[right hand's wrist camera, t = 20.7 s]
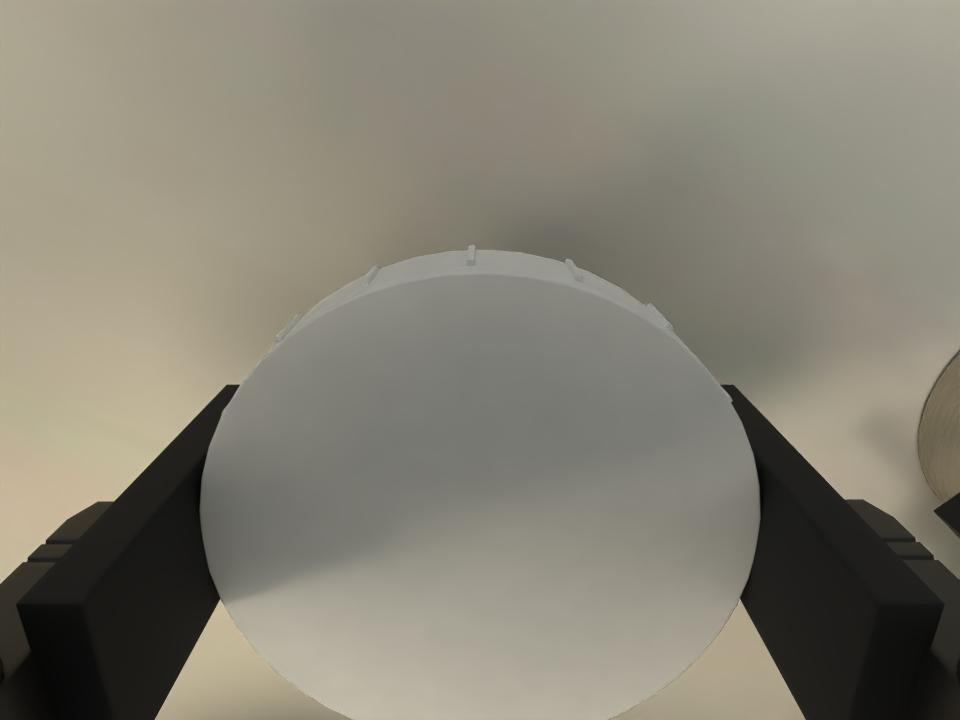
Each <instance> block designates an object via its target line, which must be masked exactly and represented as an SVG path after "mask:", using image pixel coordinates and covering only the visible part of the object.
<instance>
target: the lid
mask: <svg viewBox="0 0 960 720" xmlns="http://www.w3.org/2000/svg"><path fill="white" fill-rule="evenodd" d="M673 328H674V327H673V326H672V325H671V324H670V323H669V322H668V321H667V320H666V319H665V318H664V316H663V315H662V314H661V313H660V312H659V311H658V310H657V309H656V308H655V307H654V306H653V305H652V304H651V303H649V304H648V305H647V306H645V305H644V304H642V303H641V302H640V301H638V300H637V299H635V298H634V297H633V296H631V295H630V294H628V293H627V292H626V291H624V290H623V289H621V288H620V287H618V286H616V285H614V284H612V283H610V282H608V281H606V280H604V279H602V278H600V277H599V276H597V275H595V274H593V273H591V272H589V271H586V270H583V269H580V268H577V267H576V265H575V264H574V262H573V261H572V260H570V259H566V261H565V263H563V262H561V261H558V260H555V259H550V258H545V257H541V256H536V255H531V254H526V253H522V252H511V251H499V250H486V249H481V250H475V245H469V246H468V250H461V251H446V252H440V253H435V254H430V255H424V256H419V257H413V258H410V259H407V260H403V261H400V262H397V263H394V264H391V265H388V266H385V267H382V268H380V266H379V264H377V265H374V266H373V267H372V268H371V269H370V271H369V272H368V273H367V274H366V275H364V276H362V277H360V278H358V279H356V280H354V281H352V282H350V283H347V284H346V285H344V286H343V287H341V288H340V289H338V290H337V291H335V292H334V293H332V294H331V295H329V296H328V297H326V298H325V299H323V300H322V301H320V302H319V303H317V304H316V305H315V306H314V307H313V308H312V309H311V310H310V311H308V312H307V313H306V314H305V315H304V316H302V315H301V314H300V313H298V314H297V315H296V316H295V317H294V318H293V319H292V320H291V321H290V322H289V323H288V324H287V325H286V327H285V328H284V329H283V330H282V331H281V332H280V333H279V334H278V335H277V336H276V337H275V338H274V339H275V340H276V341H277V343H276V344H275V345H274V346H273V347H272V349H271V350H270V351H269V352H268V353H267V354H266V355H265V356H264V357H263V358H262V360H261V361H260V362H259V363H258V364H257V366H256V367H255V368H254V369H253V370H252V372H251V373H250V374H249V375H248V376H247V378H246V379H245V380H244V381H243V382H242V384H241V385H240V386H239V388H238V389H237V391H236V393H235V394H234V396H233V398H232V399H231V401H230V403H229V404H228V405H227V406H226V407H225V409H224V410H223V412H222V414H221V415H222V416H221V418H220V421H219V423H218V426H217V428H216V431H215V433H214V436H213V438H212V441H211V443H210V446H209V449H208V453H207V458H206V462H205V466H204V471H203V475H202V481H201V496H200V522H201V530H202V536H203V543H204V548H205V553H206V558H207V563H208V567H209V572H210V574H211V577H212V579H213V581H214V584H215V586H216V589H217V591H218V594H219V596H220V599H221V601H222V602H223V604H224V606H225V608H226V609H227V611H228V613H229V614H230V616H231V618H232V620H233V621H234V623H235V625H236V626H237V628H238V629H239V630H240V632H241V633H242V634H243V636H244V637H245V638H246V639H247V641H248V642H249V643H250V645H251V646H252V647H253V648H254V650H255V651H256V652H257V653H258V654H259V655H260V656H261V657H262V658H263V659H264V660H265V661H266V662H267V663H268V664H269V665H270V666H271V667H272V668H273V669H274V670H275V671H276V672H277V673H278V674H280V675H281V676H282V677H284V678H285V679H286V680H287V681H289V682H290V683H291V684H292V685H294V686H295V687H296V688H297V689H299V690H300V691H301V692H303V693H305V694H306V695H308V696H309V697H311V698H313V699H314V700H316V701H317V702H319V703H321V704H322V705H324V706H325V707H327V708H329V709H331V710H333V711H335V712H337V713H340V714H342V715H344V716H346V717H348V718H350V719H352V720H608V719H610V718H612V717H615V716H617V715H619V714H621V713H623V712H626V711H628V710H629V709H631V708H633V707H635V706H636V705H638V704H640V703H641V702H643V701H645V700H646V699H648V698H650V697H652V696H653V695H655V694H656V693H657V692H659V691H660V690H661V689H663V688H664V687H665V686H667V685H668V684H669V683H671V682H672V681H673V680H675V679H676V678H677V677H679V676H680V675H681V674H682V673H683V672H684V671H685V670H686V669H687V668H688V667H689V666H690V665H691V664H692V663H693V662H694V661H696V660H697V659H698V658H699V657H700V656H701V655H702V653H703V652H704V651H705V650H706V649H707V647H708V646H709V645H710V644H711V642H712V641H713V640H714V639H715V638H716V636H717V635H718V634H719V633H720V631H721V630H722V628H723V627H724V625H725V623H726V622H727V620H728V619H729V617H730V615H731V614H732V612H733V611H734V609H735V607H736V606H737V603H738V601H739V599H740V597H741V594H742V592H743V590H744V588H745V585H746V583H747V581H748V579H749V575H750V572H751V568H752V564H753V561H754V556H755V551H756V545H757V540H758V534H759V527H760V519H761V513H760V485H759V480H758V475H757V470H756V465H755V460H754V454H753V451H752V449H751V446H750V443H749V440H748V438H747V435H746V432H745V430H744V427H743V424H742V422H741V420H740V418H739V416H738V415H737V413H736V411H735V409H734V407H733V406H732V404H731V402H732V399H731V397H730V395H729V394H728V393H727V392H726V391H725V390H724V389H723V388H722V387H721V386H720V385H719V383H718V382H717V381H716V380H715V379H714V377H713V376H712V375H711V374H710V372H709V371H708V370H707V368H706V367H705V366H704V365H703V363H702V362H701V361H700V360H699V359H698V358H697V357H696V356H695V355H694V354H693V353H692V351H691V350H690V349H689V348H688V347H687V346H686V345H685V344H684V343H683V342H682V341H681V340H680V338H679V337H678V336H677V335H676V334H675V333H674V332H673V331H672V329H673Z"/></svg>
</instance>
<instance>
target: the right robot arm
mask: <svg viewBox="0 0 960 720" xmlns="http://www.w3.org/2000/svg"><path fill="white" fill-rule="evenodd" d="M239 386H240V385H226V386H225V387H224V388H223V389H222V390H221V391H220V392H219V393H218V394H217V396H216V397H215V398H214V399H213V400H212V401H211V402H210V403H209V404H208V405H207V406H206V407H205V408H204V409H203V410H202V411H201V412H200V413H199V414H198V415H197V416H196V417H195V418H194V419H193V420H192V421H191V423H190V424H189V425H188V426H187V427H186V428H185V429H184V430H183V431H182V432H181V433H180V434H179V435H178V436H177V437H176V438H175V439H174V440H173V441H172V442H171V443H170V444H169V445H168V446H167V447H166V448H165V450H164V451H163V452H162V453H161V454H160V455H159V456H158V457H157V458H156V459H155V460H154V461H153V462H152V463H151V464H150V465H149V466H148V467H147V468H146V469H145V470H144V471H143V472H142V473H141V474H140V475H139V477H138V478H137V479H136V480H135V481H134V482H133V483H132V484H131V485H130V486H129V487H128V488H127V489H126V490H125V491H124V492H123V493H122V494H121V495H120V496H119V497H118V498H117V499H116V500H115V501H114V502H97V503H95V504H93V505H91V506H90V507H88V508H86V509H85V510H83V511H81V512H79V513H78V514H76V515H74V516H73V517H71V518H69V519H67V520H66V521H65V522H64V523H63V524H62V525H61V526H60V527H59V528H58V529H57V530H56V531H55V532H54V533H53V534H52V535H51V536H50V537H49V538H48V539H47V540H46V544H41V545H40V546H39V547H38V548H37V549H36V550H35V551H34V552H33V553H32V554H31V555H30V556H29V557H28V561H27V562H23V563H22V564H21V565H20V566H19V567H18V568H17V569H16V570H14V571H13V572H12V573H11V574H10V575H9V576H8V577H7V578H6V579H5V580H4V581H3V582H2V583H1V584H0V720H155V718H156V716H157V714H158V712H159V710H160V709H161V707H162V705H163V703H164V701H165V699H166V698H167V696H168V694H169V692H170V690H171V688H172V686H173V685H174V683H175V681H176V679H177V677H178V675H179V674H180V672H181V670H182V668H183V666H184V664H185V663H186V661H187V659H188V657H189V655H190V653H191V652H192V650H193V648H194V646H195V644H196V642H197V641H198V639H199V637H200V635H201V633H202V631H203V630H204V628H205V626H206V624H207V622H208V620H209V619H210V617H211V615H212V613H213V611H214V609H215V608H216V606H217V604H218V602H219V600H220V596H219V594H218V591H217V589H216V586H215V584H214V581H213V579H212V577H211V574H210V572H209V567H208V563H207V558H206V553H205V548H204V543H203V536H202V530H201V522H200V496H201V481H202V475H203V471H204V466H205V462H206V458H207V453H208V449H209V446H210V443H211V441H212V438H213V436H214V433H215V431H216V428H217V426H218V423H219V421H220V418H221V416H222V415H221V414H222V412H223V410H224V409H225V407H226V406H227V405H228V404H229V403H230V401H231V399H232V398H233V396H234V394H235V393H236V391H237V389H238V388H239ZM720 386H721V387H722V388H723V389H724V390H725V391H726V392H727V393H728V394H729V395H730V397H731V399H732V402H731V404H732V406H733V407H734V409H735V411H736V413H737V415H738V416H739V418H740V420H741V422H742V424H743V427H744V430H745V432H746V435H747V438H748V440H749V443H750V446H751V449H752V451H753V454H754V460H755V465H756V470H757V475H758V480H759V485H760V513H761V519H760V527H759V534H758V540H757V545H756V551H755V556H754V561H753V564H752V568H751V572H750V575H749V579H748V581H747V583H746V585H745V588H744V590H743V592H742V594H741V597H740V599H741V601H742V603H743V605H744V607H745V609H746V610H747V612H748V614H749V616H750V618H751V620H752V621H753V623H754V625H755V627H756V629H757V631H758V632H759V634H760V636H761V638H762V640H763V642H764V644H765V645H766V647H767V649H768V651H769V653H770V655H771V656H772V658H773V660H774V662H775V664H776V666H777V667H778V669H779V671H780V673H781V675H782V677H783V678H784V680H785V682H786V684H787V686H788V688H789V689H790V691H791V693H792V695H793V697H794V699H795V700H796V702H797V704H798V706H799V708H800V710H801V711H802V713H803V715H804V717H805V719H806V720H960V580H959V579H958V578H956V577H955V576H954V575H953V574H952V573H951V572H950V571H949V570H948V569H947V568H946V567H945V566H944V565H943V564H942V563H941V562H940V561H939V560H934V558H933V555H932V554H931V553H930V552H929V551H928V550H927V549H926V548H925V547H924V546H923V545H922V544H921V543H920V542H916V541H915V537H914V536H913V535H912V534H910V533H909V532H908V531H907V530H906V529H905V528H904V527H903V526H902V525H901V524H900V523H899V522H898V521H897V520H896V519H895V518H894V517H892V516H890V515H889V514H887V513H885V512H884V511H882V510H880V509H878V508H877V507H875V506H873V505H871V504H870V503H868V502H866V501H864V500H844V499H843V498H842V497H841V496H840V495H839V494H838V493H837V492H836V491H835V490H834V489H833V487H832V486H831V485H830V484H829V483H828V482H827V481H826V480H825V479H824V478H823V477H822V476H821V475H820V474H819V473H818V472H817V471H816V470H815V469H814V468H813V467H812V466H811V465H810V464H809V463H808V462H807V460H806V459H805V458H804V457H803V456H802V455H801V454H800V453H799V452H798V451H797V450H796V449H795V448H794V447H793V446H792V445H791V444H790V443H789V442H788V441H787V440H786V439H785V438H784V437H783V436H782V435H781V433H780V432H779V431H778V430H777V429H776V428H775V427H774V426H773V425H772V424H771V423H770V422H769V421H768V420H767V419H766V418H765V417H764V416H763V415H762V414H761V413H760V412H759V411H758V410H757V409H756V408H755V407H754V405H753V404H752V403H751V402H750V401H749V400H748V399H747V398H746V397H745V396H744V395H743V394H742V393H741V392H740V391H739V390H738V389H737V388H736V387H735V386H734V385H720Z"/></svg>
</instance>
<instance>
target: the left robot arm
mask: <svg viewBox="0 0 960 720" xmlns="http://www.w3.org/2000/svg"><path fill="white" fill-rule="evenodd" d="M934 512H935V513H936V514H937V515H938V516H939V517H940V518H941V519H942V520H943V521H944V522H945V523H946V524H947V525H948V526H949V528H950V529H951V530H952V531H953V532H954V533H955V534H956V535H957V536H958V537H959V538H960V492H959V493H958V494H956V495H955V496H954V497H952V498H951V499H949V500H948V501H947V502H945V503H944V504H942V505H941V506H940V507H938V508H937V509H935V510H934Z"/></svg>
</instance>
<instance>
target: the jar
mask: <svg viewBox="0 0 960 720" xmlns="http://www.w3.org/2000/svg"><path fill="white" fill-rule="evenodd" d="M918 449H919V458H920V463H921V467H922V471H923V473H924V475H925V478H926V480H927V482H928V484H929V485H930V487H931V489H932V490H933V492H934V493H935V494H936V495H937V496H938V497H939V498H940V500H941V501H942V502H943V503H945V502H947V501H948V500H949V499H951V498H952V497H954V496H955V495H956V494H958V493H959V492H960V352H959V353H958V355H957V356H956V357H955V358H954V359H953V360H952V362H951V363H950V364H949V365H948V366H947V368H946V369H945V371H944V372H943V374H942V375H941V376H940V378H939V379H938V381H937V383H936V385H935V386H934V388H933V390H932V392H931V394H930V396H929V398H928V401H927V403H926V406H925V408H924V411H923V415H922V419H921V423H920V427H919V437H918Z"/></svg>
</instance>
